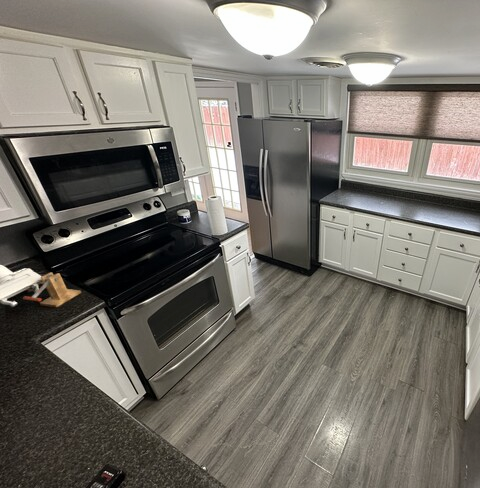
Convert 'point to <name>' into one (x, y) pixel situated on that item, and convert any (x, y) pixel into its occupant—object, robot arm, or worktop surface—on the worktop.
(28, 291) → the pottery mug
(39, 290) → the lever
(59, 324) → the worktop surface
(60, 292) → the bracket
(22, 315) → the worktop surface
